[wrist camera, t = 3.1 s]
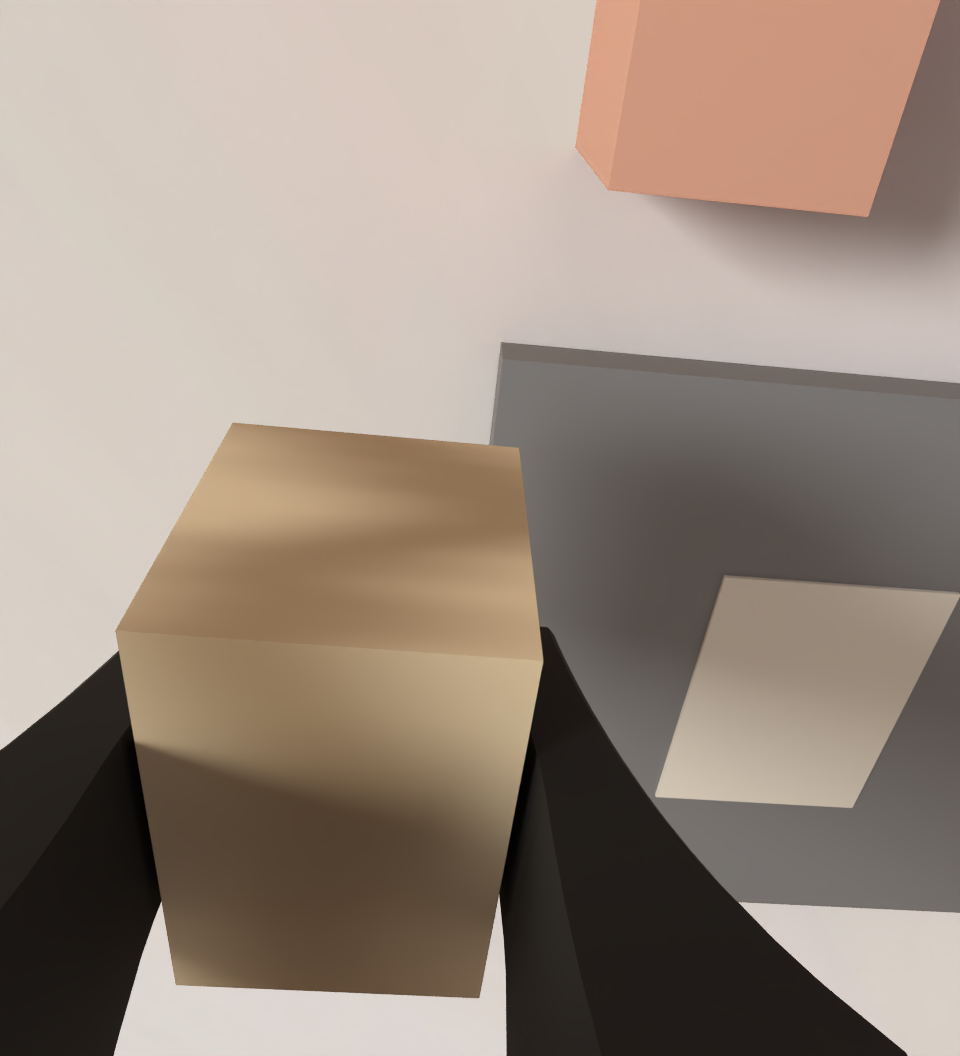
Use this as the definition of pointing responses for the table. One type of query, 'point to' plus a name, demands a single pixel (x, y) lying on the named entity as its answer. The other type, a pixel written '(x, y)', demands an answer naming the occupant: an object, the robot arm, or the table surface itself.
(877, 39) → the terracotta brick
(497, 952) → the table surface
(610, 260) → the table surface
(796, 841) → the baseplate
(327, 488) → the maple brick
